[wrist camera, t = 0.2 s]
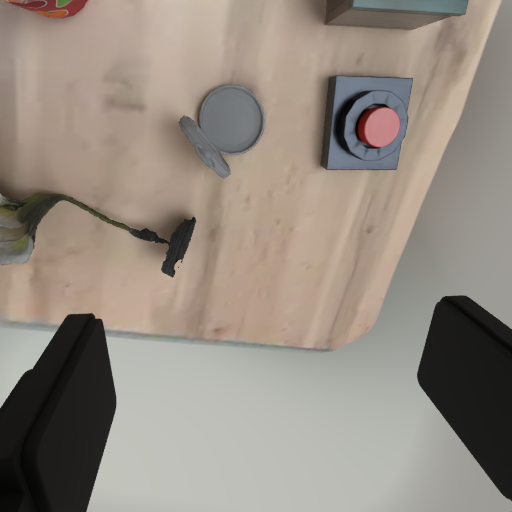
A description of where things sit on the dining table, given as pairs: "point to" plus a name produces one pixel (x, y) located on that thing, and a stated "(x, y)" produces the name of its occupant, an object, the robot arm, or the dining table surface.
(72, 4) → the smoothie
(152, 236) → the artificial flower
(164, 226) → the dining table surface
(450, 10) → the green panel
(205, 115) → the pocket watch
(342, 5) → the open brown box case
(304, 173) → the dining table surface
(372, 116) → the alarm button
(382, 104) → the base
